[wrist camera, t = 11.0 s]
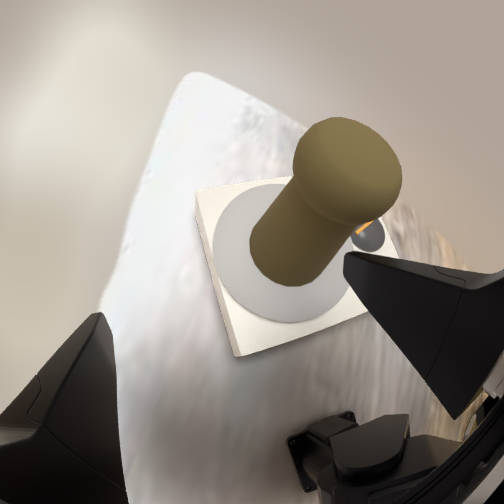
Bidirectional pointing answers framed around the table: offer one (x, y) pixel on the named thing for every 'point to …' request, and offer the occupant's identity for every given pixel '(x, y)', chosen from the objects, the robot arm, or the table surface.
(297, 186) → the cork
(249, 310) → the kitchen scale
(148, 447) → the table surface
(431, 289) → the robot arm
